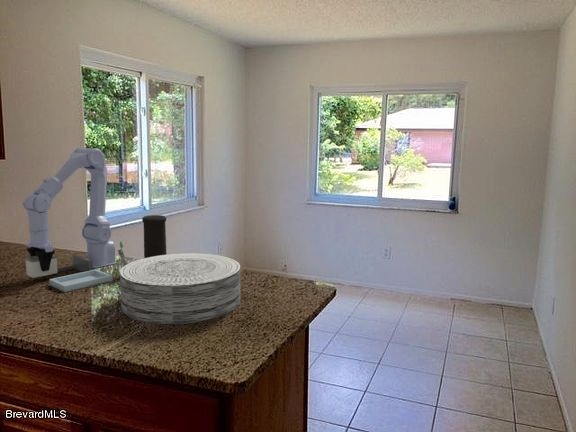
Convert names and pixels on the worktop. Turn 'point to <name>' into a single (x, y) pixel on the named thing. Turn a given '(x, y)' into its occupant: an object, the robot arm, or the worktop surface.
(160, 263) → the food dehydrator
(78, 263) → the bay
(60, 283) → the tray
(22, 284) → the worktop surface
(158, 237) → the container
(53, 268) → the block
